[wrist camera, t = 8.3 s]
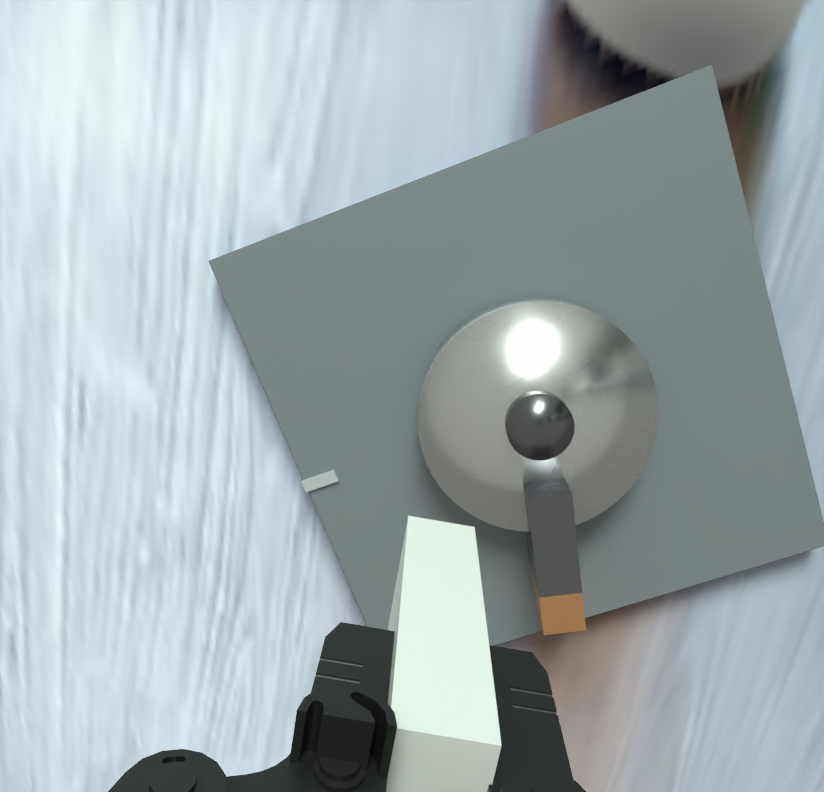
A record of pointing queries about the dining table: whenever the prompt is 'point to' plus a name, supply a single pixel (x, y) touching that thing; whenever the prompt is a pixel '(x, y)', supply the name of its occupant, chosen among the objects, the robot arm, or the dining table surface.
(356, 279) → the dial board
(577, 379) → the dial
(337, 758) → the robot arm
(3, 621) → the dining table surface
